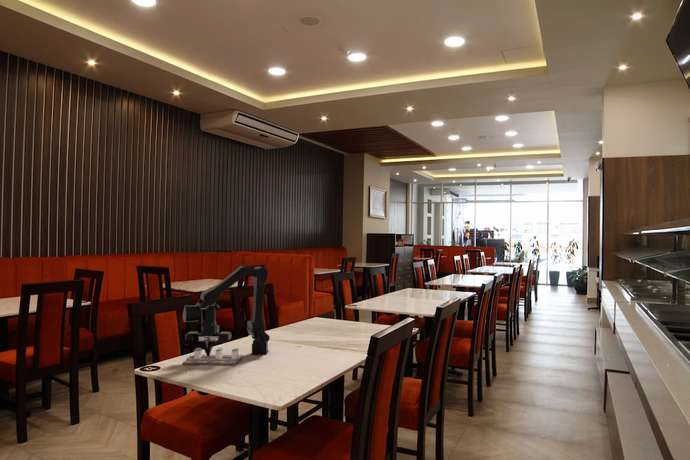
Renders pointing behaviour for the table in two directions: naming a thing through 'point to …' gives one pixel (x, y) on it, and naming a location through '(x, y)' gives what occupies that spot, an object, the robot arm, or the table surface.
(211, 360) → the panel
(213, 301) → the robot arm
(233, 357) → the breaker
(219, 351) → the breaker
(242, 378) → the table surface
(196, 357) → the breaker
